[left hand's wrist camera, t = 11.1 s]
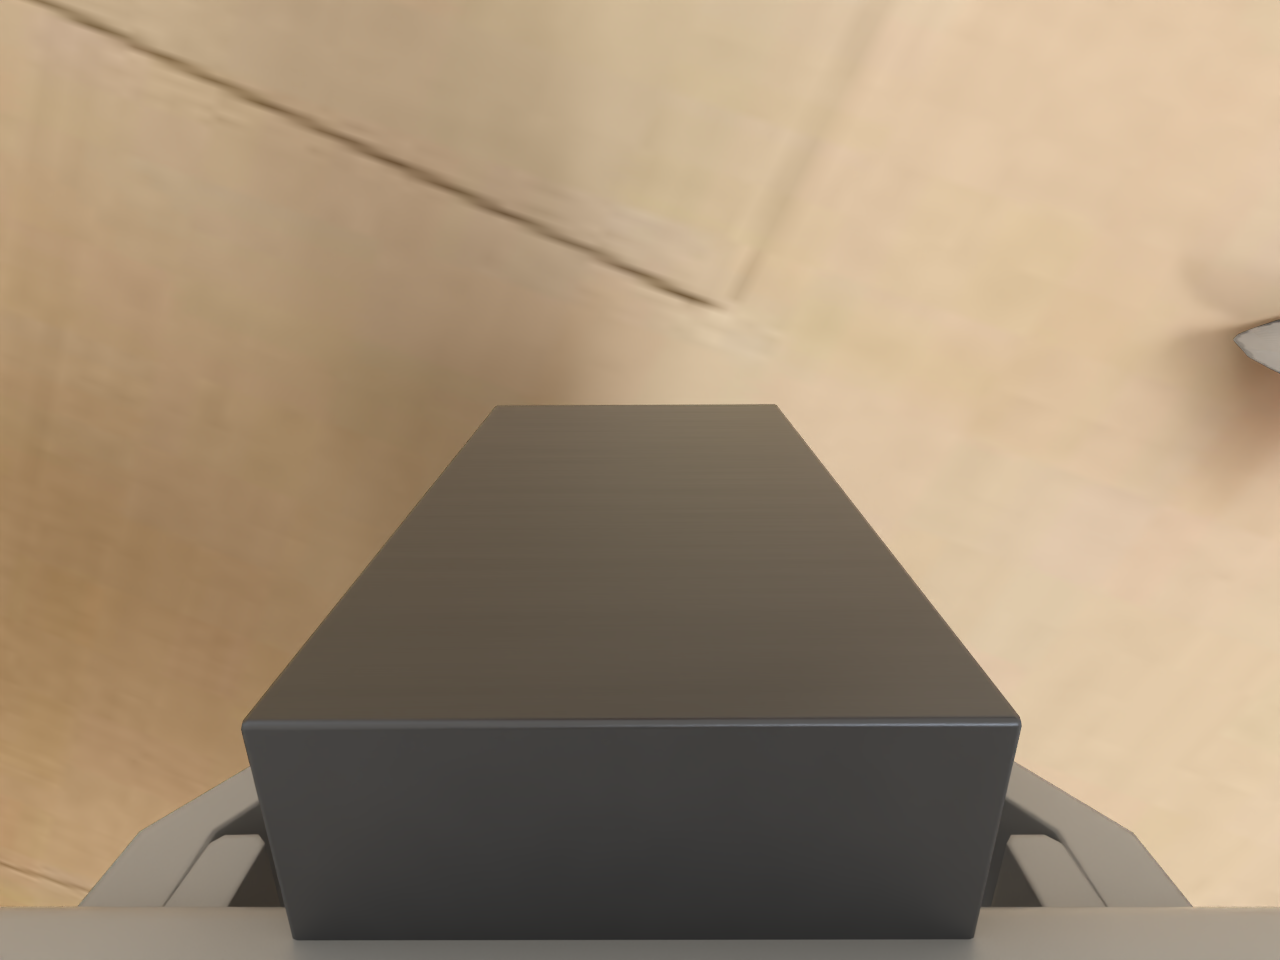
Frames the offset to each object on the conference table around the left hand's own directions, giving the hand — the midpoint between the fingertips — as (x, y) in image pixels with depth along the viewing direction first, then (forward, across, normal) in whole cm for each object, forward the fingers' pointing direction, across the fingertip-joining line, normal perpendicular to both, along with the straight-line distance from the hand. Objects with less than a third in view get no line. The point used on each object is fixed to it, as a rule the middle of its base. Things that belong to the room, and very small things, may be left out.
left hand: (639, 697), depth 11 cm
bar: (+4, 0, -9) cm, 10 cm away
